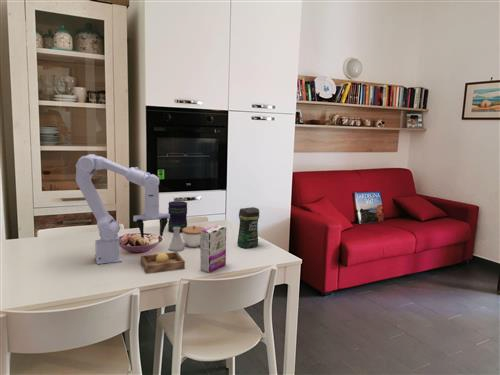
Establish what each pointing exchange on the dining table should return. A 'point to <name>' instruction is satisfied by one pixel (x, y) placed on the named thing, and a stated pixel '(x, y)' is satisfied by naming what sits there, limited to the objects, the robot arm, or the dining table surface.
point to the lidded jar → (192, 235)
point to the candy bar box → (213, 248)
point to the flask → (176, 241)
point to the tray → (172, 264)
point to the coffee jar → (248, 227)
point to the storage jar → (177, 215)
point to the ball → (162, 258)
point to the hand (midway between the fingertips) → (151, 236)
